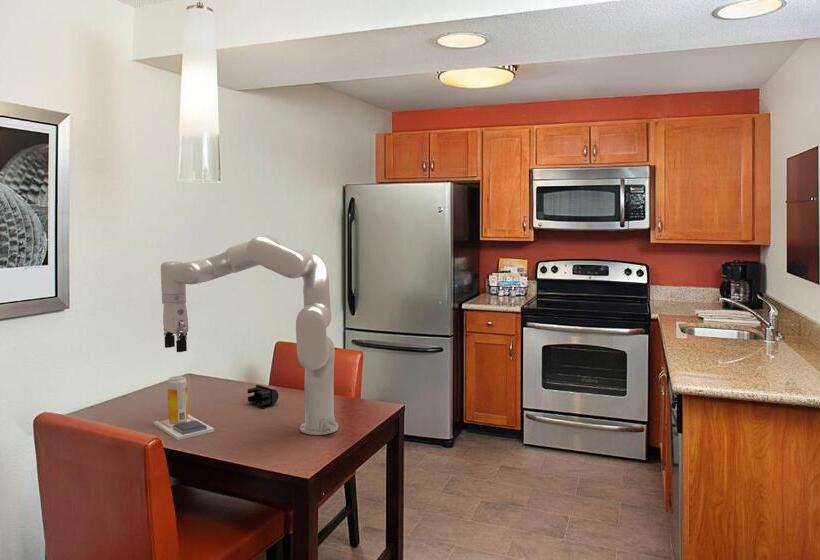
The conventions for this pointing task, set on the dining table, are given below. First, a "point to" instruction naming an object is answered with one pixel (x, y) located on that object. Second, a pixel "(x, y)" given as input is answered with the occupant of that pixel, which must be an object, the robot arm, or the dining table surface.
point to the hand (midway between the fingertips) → (175, 349)
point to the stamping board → (184, 428)
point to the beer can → (177, 399)
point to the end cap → (262, 397)
